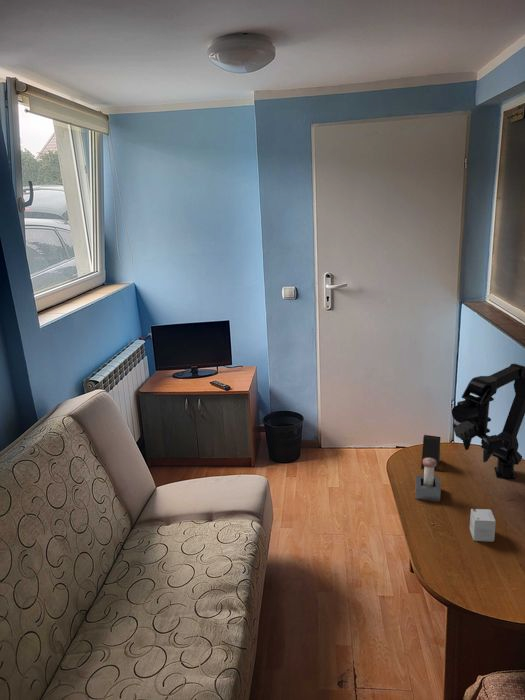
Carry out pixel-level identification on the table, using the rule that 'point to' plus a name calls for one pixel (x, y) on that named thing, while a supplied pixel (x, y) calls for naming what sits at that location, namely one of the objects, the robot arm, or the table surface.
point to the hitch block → (428, 489)
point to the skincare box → (482, 525)
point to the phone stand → (431, 449)
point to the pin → (429, 471)
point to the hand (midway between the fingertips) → (475, 455)
